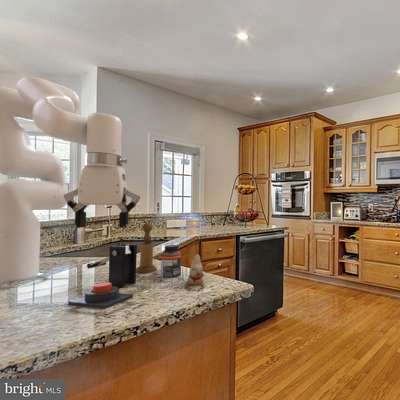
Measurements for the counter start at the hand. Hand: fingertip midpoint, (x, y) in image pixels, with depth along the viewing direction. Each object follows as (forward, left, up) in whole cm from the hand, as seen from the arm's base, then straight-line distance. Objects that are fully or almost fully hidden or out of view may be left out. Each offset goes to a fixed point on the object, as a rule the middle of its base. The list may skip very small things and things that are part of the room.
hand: (102, 227), depth 73 cm
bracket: (0, +7, -19) cm, 20 cm away
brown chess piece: (-6, +23, -19) cm, 30 cm away
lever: (-4, +7, -11) cm, 13 cm away
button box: (+6, -5, -19) cm, 20 cm away
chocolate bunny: (+18, +15, -19) cm, 30 cm away
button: (+6, -5, -15) cm, 17 cm away
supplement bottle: (+6, +20, -19) cm, 28 cm away
